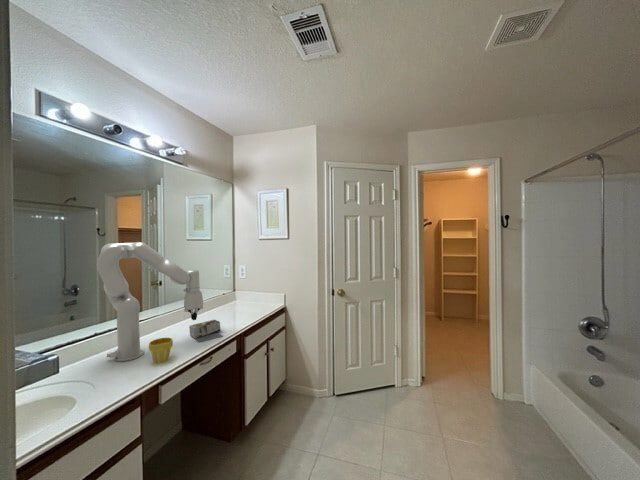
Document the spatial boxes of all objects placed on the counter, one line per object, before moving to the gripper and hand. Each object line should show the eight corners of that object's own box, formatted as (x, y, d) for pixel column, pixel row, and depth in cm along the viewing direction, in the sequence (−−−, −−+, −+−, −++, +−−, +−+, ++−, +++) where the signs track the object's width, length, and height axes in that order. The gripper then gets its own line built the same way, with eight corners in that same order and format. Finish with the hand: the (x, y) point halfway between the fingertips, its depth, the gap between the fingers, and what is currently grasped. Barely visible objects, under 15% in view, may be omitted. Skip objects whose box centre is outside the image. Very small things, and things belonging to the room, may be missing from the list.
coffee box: (195, 338, 163) (220, 331, 174) (194, 328, 163) (220, 321, 174) (189, 335, 169) (214, 328, 180) (189, 325, 169) (214, 319, 180)
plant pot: (177, 358, 138) (176, 339, 138) (156, 366, 129) (156, 346, 129) (165, 354, 143) (165, 335, 143) (145, 362, 134) (144, 342, 134)
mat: (199, 342, 158) (199, 341, 158) (190, 333, 173) (189, 333, 173) (222, 336, 167) (222, 335, 167) (212, 328, 182) (212, 327, 182)
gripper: (181, 292, 158) (182, 323, 158) (207, 288, 167) (208, 318, 168) (178, 291, 163) (179, 321, 164) (203, 287, 173) (204, 315, 173)
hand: (194, 319), depth 166 cm, fingers closed
